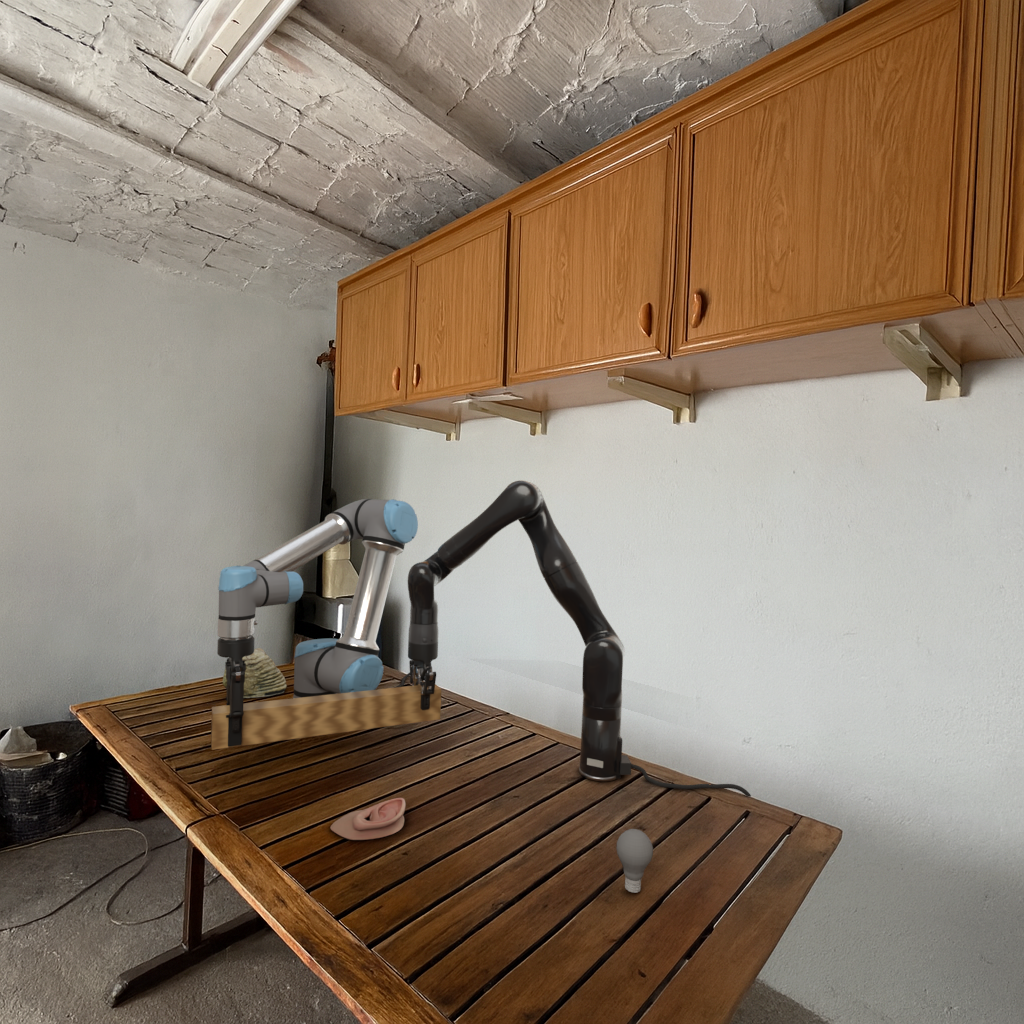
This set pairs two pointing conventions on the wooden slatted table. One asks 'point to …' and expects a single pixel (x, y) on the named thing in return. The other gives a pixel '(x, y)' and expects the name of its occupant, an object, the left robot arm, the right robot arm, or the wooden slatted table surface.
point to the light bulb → (634, 857)
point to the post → (325, 715)
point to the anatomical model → (372, 821)
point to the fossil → (261, 676)
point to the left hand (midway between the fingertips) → (233, 740)
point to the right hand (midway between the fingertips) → (421, 705)
